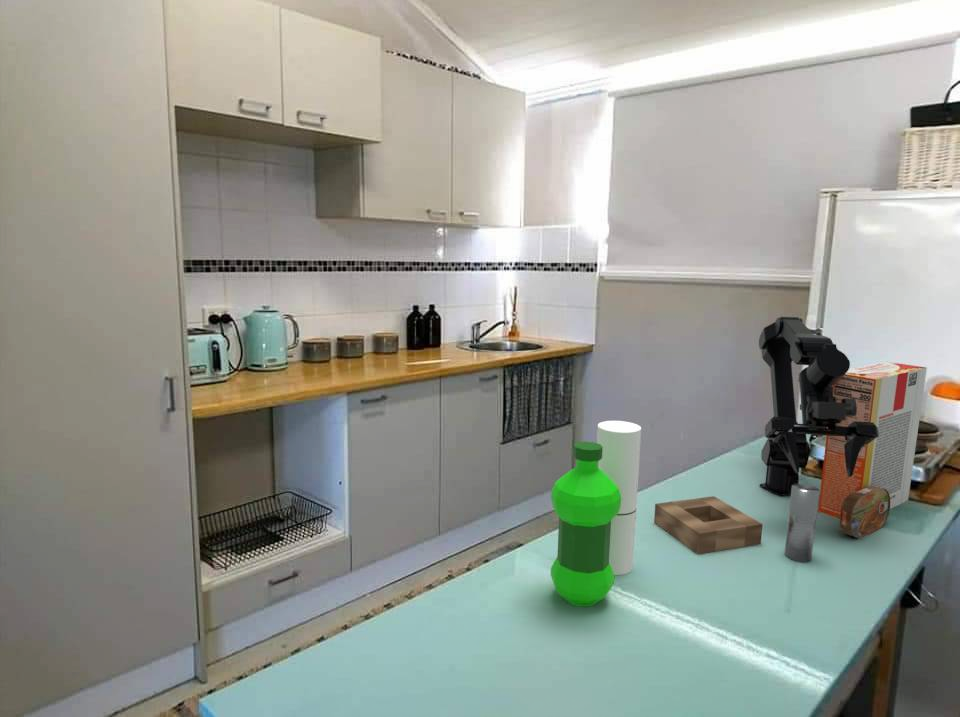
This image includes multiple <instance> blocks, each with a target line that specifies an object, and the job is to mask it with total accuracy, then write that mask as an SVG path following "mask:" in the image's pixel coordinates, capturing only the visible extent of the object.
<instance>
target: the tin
mask: <svg viewBox="0 0 960 717" xmlns="http://www.w3.org/2000/svg"><path fill="white" fill-rule="evenodd" d="M890 510H891V509H890V495H889V493H888V491H887V490H886V489H884V488H878V487H874V486H869V487H866V488H864V489H862V490H859V491H857V492H854V493H852V494H850V495H848V496H847V497H846V498H845V500H844V502H843V504H842V506H841V515H840V519H839V520H840V521H839V528H840V529H841V532H842V533H843V534H846V535H848V536H850V537H854V538H856V539H862V538H864V537H866V536H868V535H870V534H872V533H874V532H877V531H878V530H880V529H882V528H883V526H885V524H886V522H887V520H888V517H889V515H890Z"/></svg>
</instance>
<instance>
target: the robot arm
mask: <svg viewBox="0 0 960 717" xmlns="http://www.w3.org/2000/svg"><path fill="white" fill-rule="evenodd" d="M758 348H759V349H760V351H761V356H762V357H761V358H762V359H763V360H762V361H764V362H765V363H766V365H767V366H768V367H769V369H770V381H771V394H772V395H771V396H772V408H773V410H772V411H773V416H772V418H770V419H769V420H768V421H767V423H766V424H765V427H764V437H765V438H766V440H765V444H764V445H763V447H762V449H761V454H760V455H761V456H760V457H761V461H762V463H763V464H764V465H765V466H766V471H765V472H766V473H765V474H766V475H765V482H764V483H759V487H761V488H762V489H764V490H766V491H768V492H770V493H773V494H775V495H777V496H781V497H782V496H791V489H792V485H793V484H799V482H800V481H799V480H800V475H799V472H800V469H806V468H807V465H808V462H809V458H810V454H811V452H812V448H810V443H809V442H808V440H807V435H812V436H813V435H814V436H826V437H827V436H843V437H845V440H846V441H847V443H846V444H845V445H844V450H845V460H846V470H847V474H848V477H851V476H852V475H853V472H854V468H855V465H856V461H857V458H858V454H859V452H860V450H861V448H862V447H863V446H864V445H866V444H868V443H870V442H871V441H873V440H874V439H875V438H877V437H878V436H879V433H878V427H877V426H876V425H875V424H874V423H873V422H858V421H854V422H852V423H851V424H850V425H849V426H848V427H844V426H836V423H838V424H839V423H840V422H841V420H846V415H849V416H855V415H856V414H857V405H856V399H849V398H843V399H842V402H841V403H837V402H836V398H835V397H833V390H832V386H833V385H835V384H836V383H837V382H838V381H839V380H840V379H841V378H842V377H843V376H844V375H845V374H846V373H847V371H848V370H849V369H850V367H851V362H850V359H849V358H848V356H846V354H845V353H844V352H842V351H841V350H839V349H838V347H837V344H836V343H834V342H833V340H832V339H831V338H830V337H828V336H825V335H820V334H815V333H813V331H811V330H810V328H808V326H806V325H805V324H804V322H803V319H802V318H800V317H798V316H779V317H776V320H775V321H774V322H772V323H770V324H769V325H767V326H764V328H763V329H762V331H761V333H760V335H759V338H758ZM792 362H793V363H794V364H795V365H796V366H797V365H798V366H807V367H805V368H803V369H802V370H801V371H800V373H798V380H797V381H798V382H799V393H800V404H799V410H801V417H802V418H801V420H802V423H799V422H798V421H797V412H796V400H795V392H794V391H795V390H794V378H793V368H792Z"/></svg>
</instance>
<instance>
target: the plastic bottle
mask: <svg viewBox="0 0 960 717" xmlns="http://www.w3.org/2000/svg"><path fill="white" fill-rule="evenodd" d="M602 450H603V447H602V446H601V445H600V444H598V443H597V442H595V441H594V442H593V441H580V442H578V441H577V442H576V443H574V444H573V457H574V459H575V460H576V466H575V467H573V468H572V469H570V470H569V471H567V472H566V473H565V474H564V475H562V476H561V477H559V479H557V480H556V481H555V482H554V484H553V486H552V488H551V502H552V508H553V509H554V511H555V513H556V515H557V516H558V535H557V536H558V537H557V556H556V557H555V559H554V561H553V563H552V565H551V568H550V577H551V580H552V582H553V585H554V588H555V590H556V592H557V593H558V595H560V596H561V597H562V598H563V599H565V601H566V602H568V603H569V604H571V605H573V606H577V607H582V608H583V607H584V608H586V607H587V608H588V607H591V606H595V605H596V604H597V603H598V602H601V601H602V600H603V599H605V598H606V597H607V595H608V594H609V592H610V591H611V590H612V588H613V586H614V584H615V575H614V573H613V570H612V568H611V566H610V564H609V550H610V532H611V520H612V519H613V518H614V517H615V516H616V515H617V514H618V512H619V509H620V505H621V495H620V492H619V489H618V487H617V486H616V485H615V484H614V482H613V481H612V480H611V479H610V478H609V477H608V476H607V475H606V474H605V473H604V472H603V471H602V470H600V469H599V468H598V461H599V460H601V459H602Z"/></svg>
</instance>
